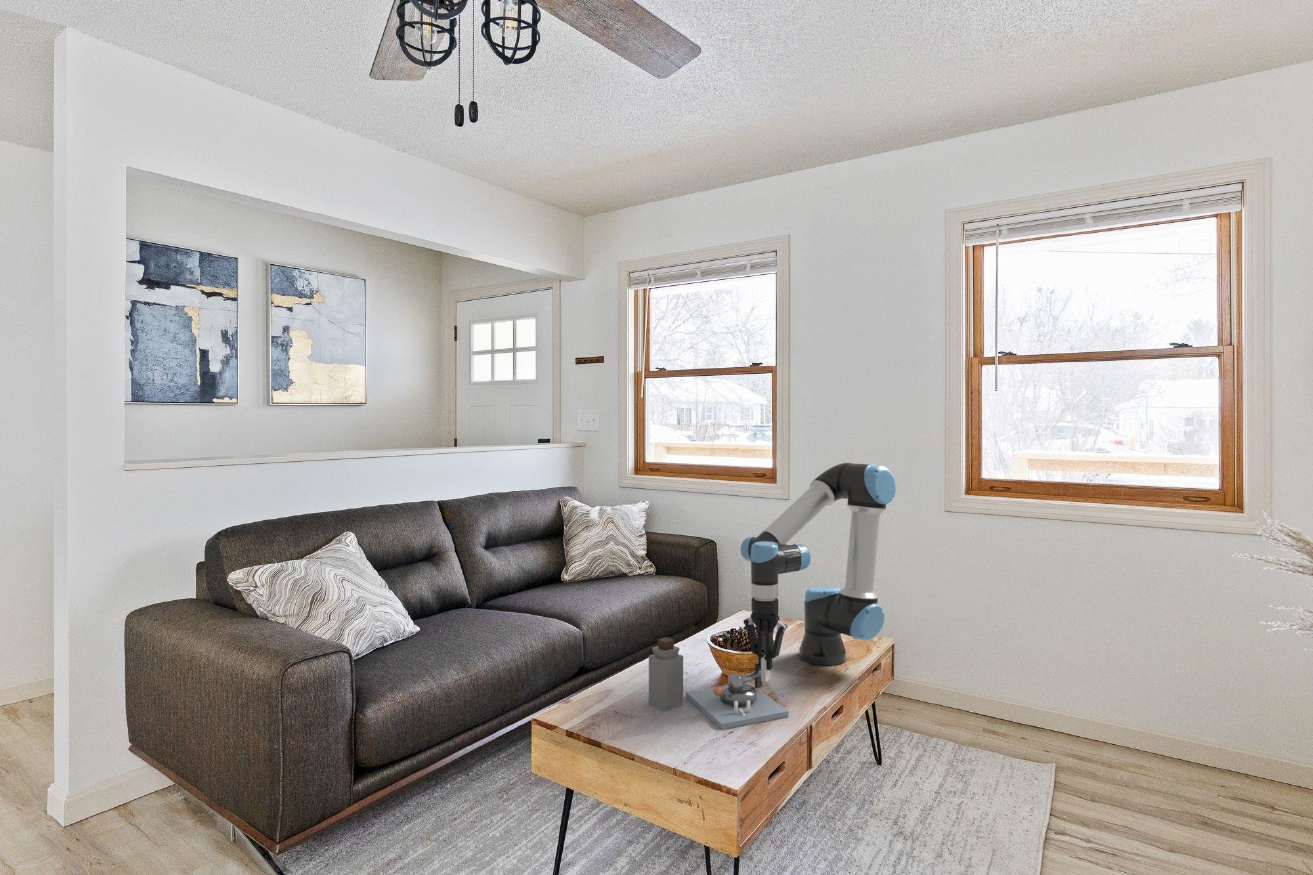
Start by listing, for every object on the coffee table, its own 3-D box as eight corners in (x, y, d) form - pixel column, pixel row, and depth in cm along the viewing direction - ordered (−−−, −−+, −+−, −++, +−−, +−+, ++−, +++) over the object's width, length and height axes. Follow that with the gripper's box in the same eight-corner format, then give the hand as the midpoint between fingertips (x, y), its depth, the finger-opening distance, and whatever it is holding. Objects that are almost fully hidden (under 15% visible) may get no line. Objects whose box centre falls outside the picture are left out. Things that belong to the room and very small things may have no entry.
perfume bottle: (665, 696, 200) (665, 634, 199) (683, 703, 195) (683, 639, 195) (648, 703, 195) (648, 639, 195) (666, 711, 191) (666, 645, 190)
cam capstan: (729, 713, 184) (729, 686, 183) (701, 702, 191) (701, 676, 190) (775, 691, 198) (775, 666, 198) (747, 681, 205) (747, 657, 205)
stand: (747, 686, 207) (747, 671, 207) (788, 716, 187) (788, 699, 187) (685, 696, 200) (685, 681, 200) (721, 729, 179) (721, 712, 179)
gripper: (791, 597, 197) (792, 680, 198) (751, 591, 205) (752, 671, 206) (779, 604, 191) (780, 689, 192) (738, 597, 199) (739, 679, 200)
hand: (765, 680), depth 199 cm, fingers closed
